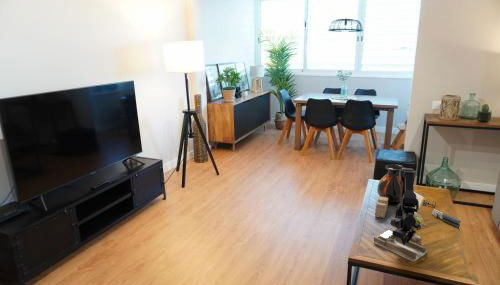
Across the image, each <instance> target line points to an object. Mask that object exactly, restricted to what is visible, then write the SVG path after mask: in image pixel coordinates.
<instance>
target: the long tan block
mask: <svg viewBox="0 0 500 285" xmlns="http://www.w3.org/2000/svg"><path fill="white" fill-rule="evenodd" d="M399 229H400V230H401V229H402V228H399ZM422 240H423V239H422V237H421V236H420V235H418V234H417V233H415V234H414V235H413V237H412V238H411V240H410V241H412V242H414V243H416V244H419V245H421V246H422Z"/></svg>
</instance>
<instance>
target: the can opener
mask: <svg viewBox="0 0 500 285" xmlns="http://www.w3.org/2000/svg"><path fill="white" fill-rule="evenodd" d="M431 213H432V214H433V215H432V216H434V217H435V218H440V219H441V221H442V220H443V221H442V222H444V221H445V222H444V223H446V222H448V223H447V224H449V223H450V224H449V225H451V224H452V226H453V225H454V227H456V228H460V227H461V222H462V221H461V220H460V219H458V218H456V217H453V216H450V215H449V214H446V213H444V212H441V211H439V210H437V209H434V208H433V210H432V212H431Z"/></svg>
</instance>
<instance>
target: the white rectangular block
mask: <svg viewBox="0 0 500 285" xmlns="http://www.w3.org/2000/svg"><path fill="white" fill-rule="evenodd" d="M386 231H387V232H386ZM386 231H384V232H385V233H384V232H382V233H383V234H382V233H381V234H382V235H380V234H379V235H380V239H382V240H384V241H390V242H391V241H392V240H394V238H395V236H393V235H392V232H391V230H389V229H388V230H386Z"/></svg>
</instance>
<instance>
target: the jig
mask: <svg viewBox="0 0 500 285" xmlns="http://www.w3.org/2000/svg"><path fill="white" fill-rule="evenodd" d="M387 231H388V230H385V231H384V232H382V233H381V234H378V235H376V236H375V237H373V243H374V244H375V245H377V246H380V247H381V248H383V249H386V250H387V251H389V252H392V253H394V254H396V255H397V256H400V257H401V258H404V259H406V260H409V261H411V262H413V263H414V262H416V261H417V260H419V259H420V258H422V257H423V256H425V255H426V254H428V251H427V247H425V246H423V245H422V244H421V245H419V244H416V243H414V242H412V241H409V242H408V243H405V245H403V244H402V240H401V239H400V238H398V237H396V236H395V238H394V240H392V241H391V242H390V241H384V240H382V239H380V235H382V234H383V233H385V232H387ZM390 231H391V230H390ZM392 231H393V230H392ZM392 231H391V232H392Z"/></svg>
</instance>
